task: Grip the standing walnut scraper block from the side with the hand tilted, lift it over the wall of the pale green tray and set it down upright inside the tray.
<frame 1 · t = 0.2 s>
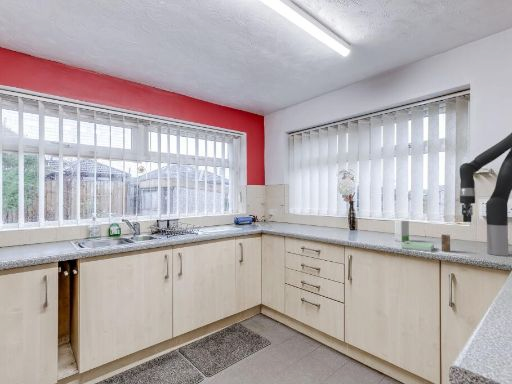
hand: (467, 222, 167), 18 cm above the table, tool pointing down, fingers open, 8 cm apart
skincare box: (401, 241, 207), on the table
pale green tray: (417, 248, 177), on the table
walnut scraper: (446, 251, 168), on the table
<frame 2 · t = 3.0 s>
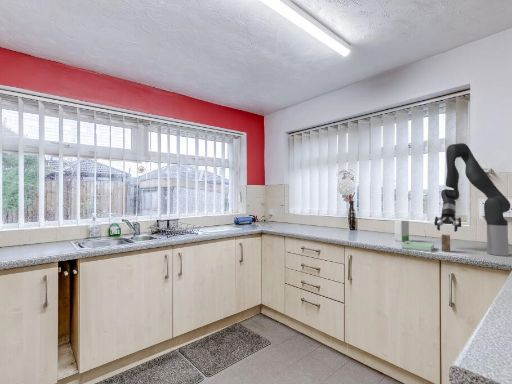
hand: (446, 230, 174), 12 cm above the table, tool tilted 45°, fingers open, 8 cm apart
nothing on the table moved.
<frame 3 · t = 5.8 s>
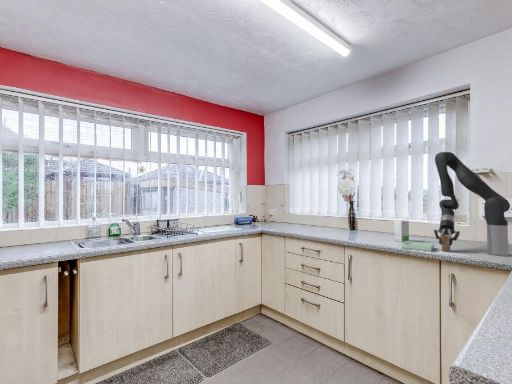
hand: (445, 244, 166), 5 cm above the table, tool tilted 45°, fingers closed on walnut scraper, 4 cm apart
walnut scraper: (445, 251, 168), on the table, touching gripper
everything else where it was.
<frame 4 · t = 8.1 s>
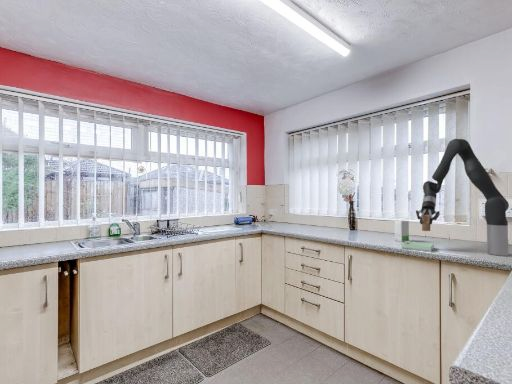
hand: (425, 223, 173), 16 cm above the table, tool tilted 45°, fingers closed on walnut scraper, 4 cm apart
walnut scraper: (426, 230, 175), point 12 cm above the table, touching gripper
everything else where it was.
when the fingers open (7 cm above the table, at t = 10.5 s): walnut scraper drops 2 cm, resting on pale green tray.
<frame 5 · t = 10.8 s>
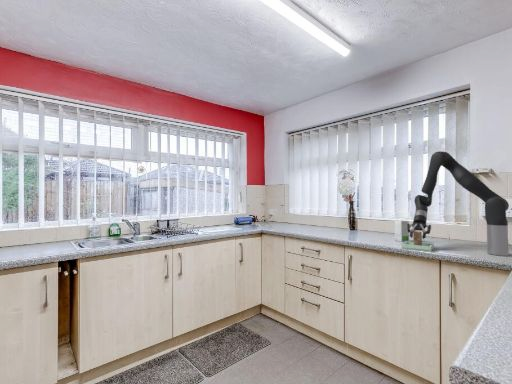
hand: (417, 237, 176), 7 cm above the table, tool tilted 45°, fingers open, 6 cm apart
walnut scraper: (417, 247, 177), point 1 cm above the table, touching pale green tray
everything else where it was.
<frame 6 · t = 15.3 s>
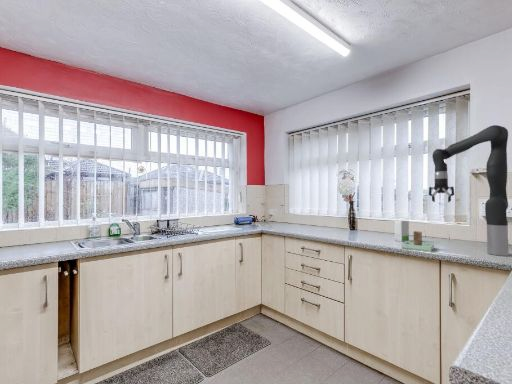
hand: (441, 201, 186), 30 cm above the table, tool pointing down, fingers open, 8 cm apart
nothing on the table moved.
at the end: walnut scraper inside the target area on the pale green tray (0.1 cm from its centre), point 0.8 cm above the pale green tray's base; walnut scraper tilted 0°; the gripper is holding nothing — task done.
